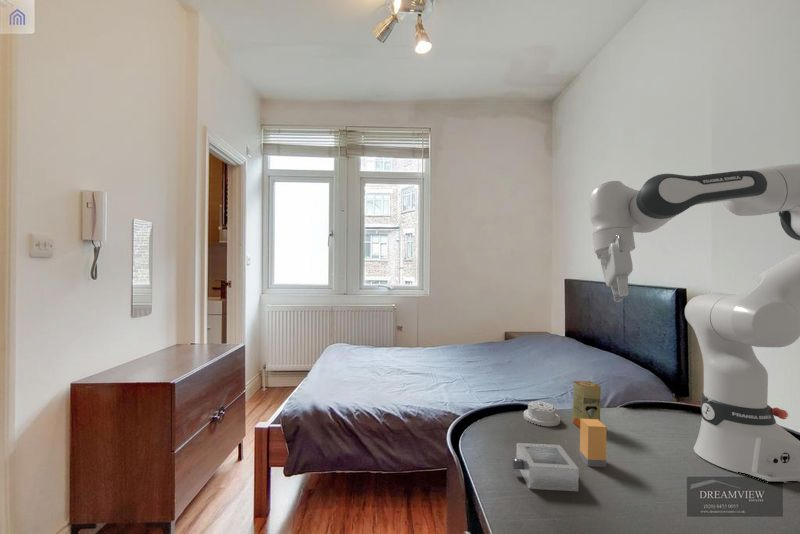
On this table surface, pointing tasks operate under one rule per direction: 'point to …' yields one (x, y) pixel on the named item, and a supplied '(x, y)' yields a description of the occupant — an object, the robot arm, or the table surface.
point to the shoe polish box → (585, 401)
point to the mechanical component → (542, 414)
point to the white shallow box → (546, 467)
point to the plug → (593, 442)
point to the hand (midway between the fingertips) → (621, 298)
